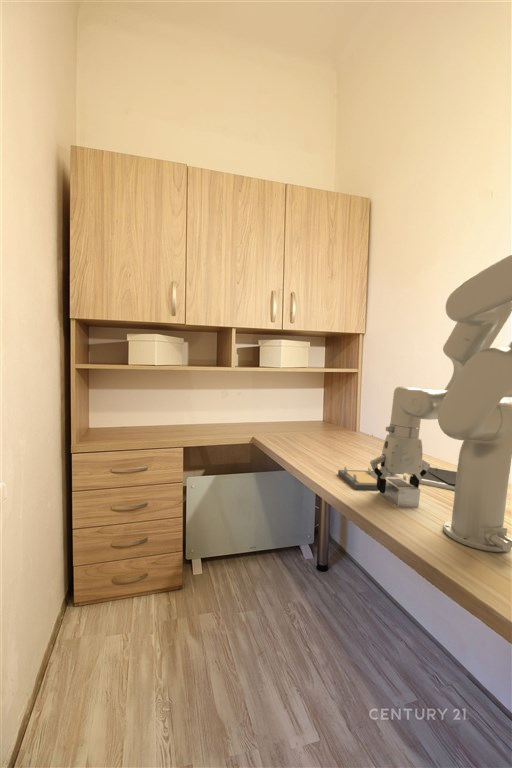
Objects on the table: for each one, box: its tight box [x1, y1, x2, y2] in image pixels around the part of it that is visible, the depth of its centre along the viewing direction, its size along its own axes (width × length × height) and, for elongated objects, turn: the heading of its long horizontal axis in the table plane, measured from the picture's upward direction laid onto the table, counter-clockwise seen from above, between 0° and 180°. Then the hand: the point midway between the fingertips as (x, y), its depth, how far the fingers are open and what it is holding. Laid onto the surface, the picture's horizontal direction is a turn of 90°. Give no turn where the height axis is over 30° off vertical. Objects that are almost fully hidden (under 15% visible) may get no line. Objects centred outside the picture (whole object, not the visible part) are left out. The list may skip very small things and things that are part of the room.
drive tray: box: [337, 466, 408, 491], centre depth 111 cm, size 14×18×4 cm
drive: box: [378, 476, 421, 508], centre depth 97 cm, size 10×6×5 cm, turn 7°
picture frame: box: [419, 465, 457, 492], centre depth 120 cm, size 16×3×21 cm
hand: (396, 491), depth 98 cm, fingers open, 9 cm apart
